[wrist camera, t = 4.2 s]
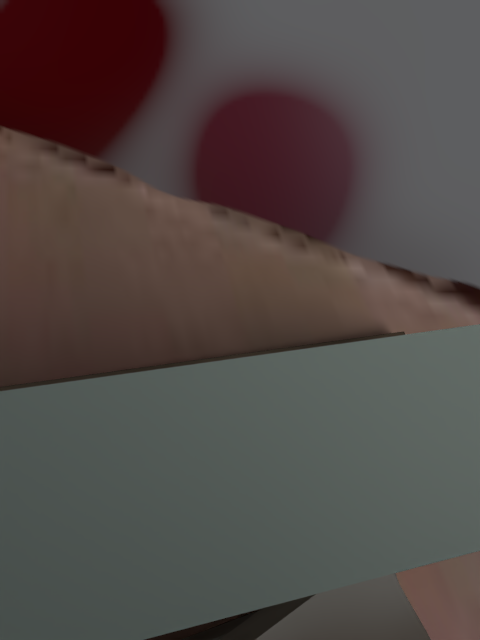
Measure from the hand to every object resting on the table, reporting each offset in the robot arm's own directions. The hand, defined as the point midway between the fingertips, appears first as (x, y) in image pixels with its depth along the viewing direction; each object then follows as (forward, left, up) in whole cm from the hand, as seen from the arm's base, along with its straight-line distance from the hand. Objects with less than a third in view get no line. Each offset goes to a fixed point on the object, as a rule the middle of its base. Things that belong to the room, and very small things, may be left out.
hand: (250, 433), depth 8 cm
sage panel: (0, 0, -7) cm, 7 cm away
